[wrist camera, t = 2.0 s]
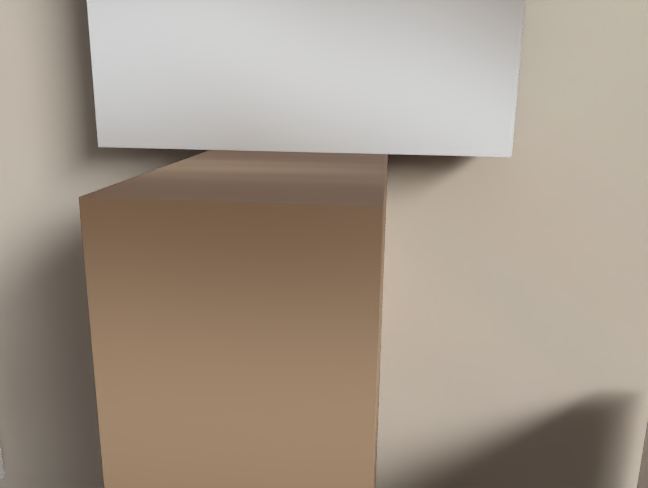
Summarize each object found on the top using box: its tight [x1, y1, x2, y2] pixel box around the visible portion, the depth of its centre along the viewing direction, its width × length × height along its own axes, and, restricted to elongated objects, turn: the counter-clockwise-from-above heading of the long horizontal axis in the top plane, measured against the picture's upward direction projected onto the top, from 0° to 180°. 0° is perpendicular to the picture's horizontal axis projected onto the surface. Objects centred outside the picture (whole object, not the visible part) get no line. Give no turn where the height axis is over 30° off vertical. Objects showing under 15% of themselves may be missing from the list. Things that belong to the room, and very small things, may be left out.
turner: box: [79, 0, 525, 488], centre depth 9 cm, size 20×7×6 cm, turn 179°
